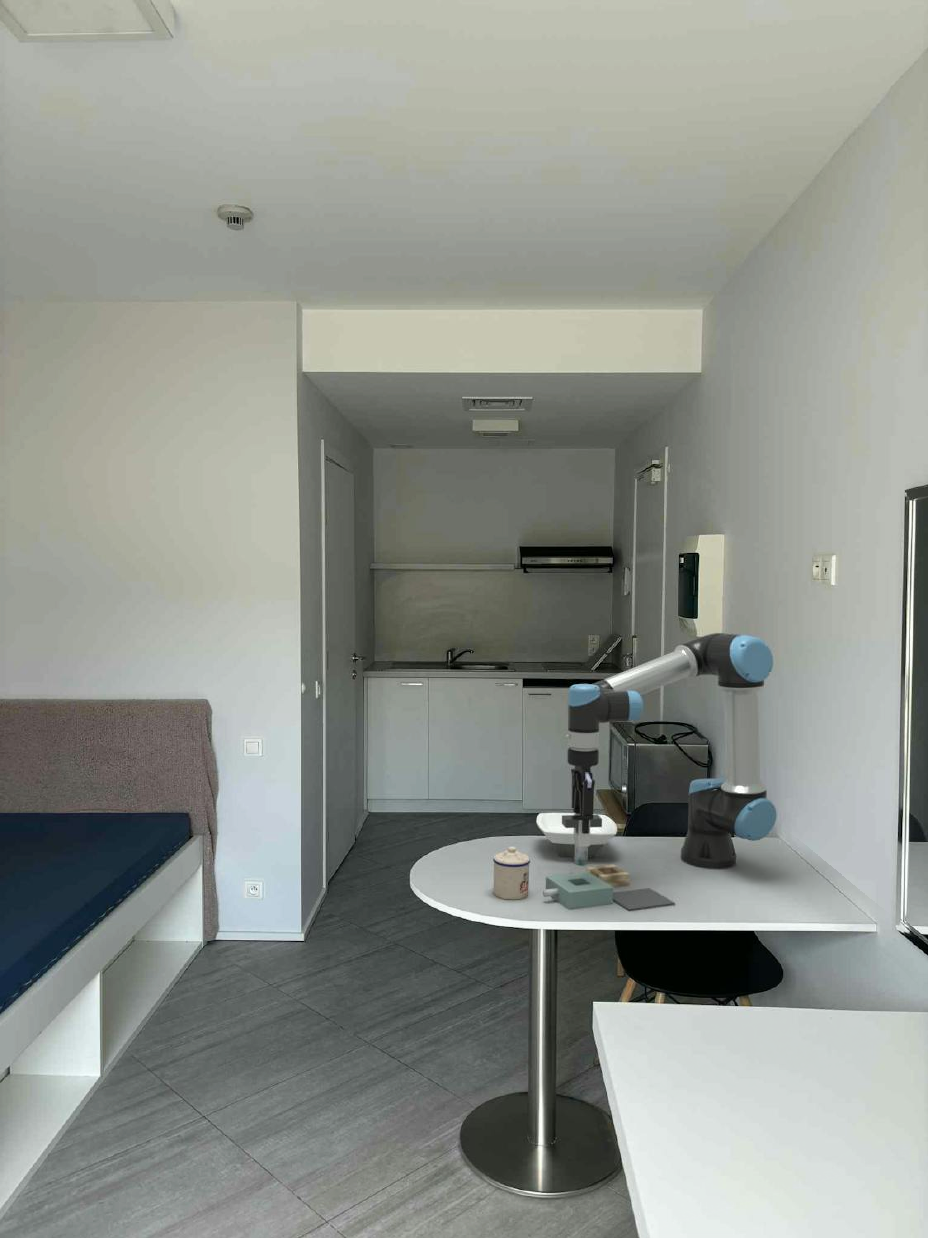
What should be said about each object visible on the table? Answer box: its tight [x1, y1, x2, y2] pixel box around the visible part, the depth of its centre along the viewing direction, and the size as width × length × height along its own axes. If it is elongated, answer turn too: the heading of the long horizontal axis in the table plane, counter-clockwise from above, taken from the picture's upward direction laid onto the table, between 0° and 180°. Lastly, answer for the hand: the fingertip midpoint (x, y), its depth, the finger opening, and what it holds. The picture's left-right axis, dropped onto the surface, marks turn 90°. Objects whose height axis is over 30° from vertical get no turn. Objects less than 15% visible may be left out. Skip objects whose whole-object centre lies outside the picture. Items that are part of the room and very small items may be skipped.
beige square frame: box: [586, 864, 631, 888], centre depth 230 cm, size 8×8×3 cm
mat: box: [613, 887, 676, 912], centre depth 217 cm, size 13×11×1 cm
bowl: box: [536, 812, 618, 858], centre depth 255 cm, size 22×23×8 cm
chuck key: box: [562, 814, 602, 867], centre depth 217 cm, size 4×9×12 cm, turn 97°
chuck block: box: [542, 871, 614, 910], centre depth 217 cm, size 16×12×4 cm
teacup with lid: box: [492, 846, 531, 901], centre depth 220 cm, size 12×9×12 cm
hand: (581, 842), depth 217 cm, fingers closed on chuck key, 4 cm apart
